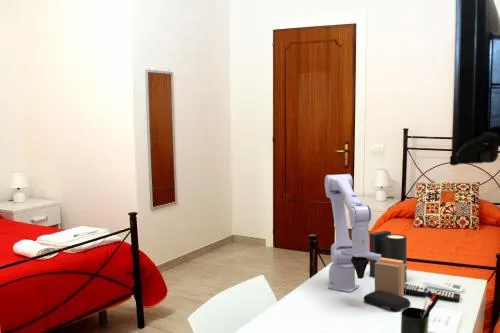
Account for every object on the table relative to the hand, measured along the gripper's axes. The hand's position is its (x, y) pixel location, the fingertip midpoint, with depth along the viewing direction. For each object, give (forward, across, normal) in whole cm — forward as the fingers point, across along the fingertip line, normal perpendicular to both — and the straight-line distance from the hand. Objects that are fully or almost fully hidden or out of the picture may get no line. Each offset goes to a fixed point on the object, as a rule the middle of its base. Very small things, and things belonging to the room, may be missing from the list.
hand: (360, 277), depth 181 cm
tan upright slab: (+9, +5, +15) cm, 18 cm away
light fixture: (+10, -2, +32) cm, 33 cm away
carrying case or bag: (+10, +7, +4) cm, 13 cm away
